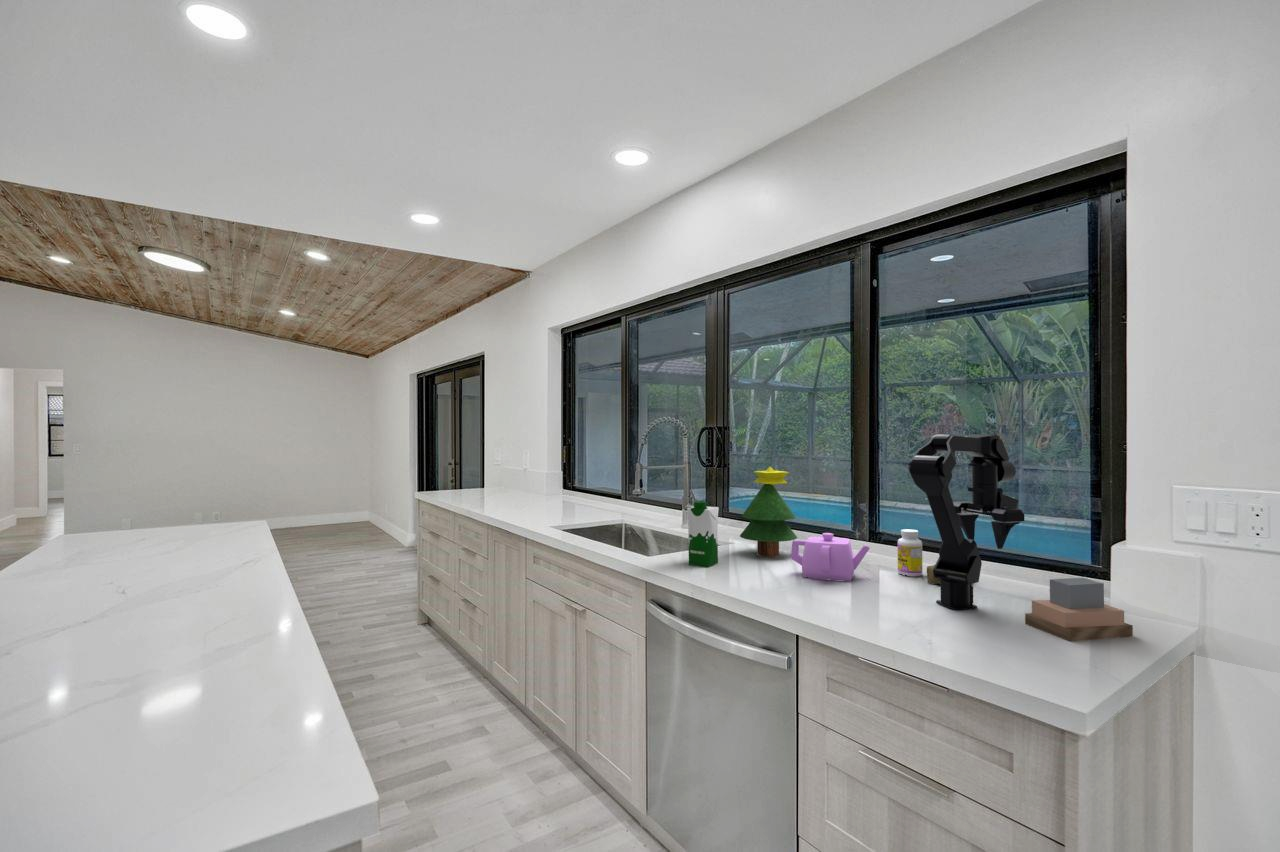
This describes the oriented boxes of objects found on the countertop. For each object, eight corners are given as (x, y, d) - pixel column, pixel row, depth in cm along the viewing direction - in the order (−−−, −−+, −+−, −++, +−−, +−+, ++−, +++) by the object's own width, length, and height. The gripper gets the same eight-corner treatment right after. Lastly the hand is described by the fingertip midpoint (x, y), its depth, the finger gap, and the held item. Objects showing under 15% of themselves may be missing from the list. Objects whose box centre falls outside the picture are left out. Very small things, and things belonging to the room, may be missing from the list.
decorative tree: (730, 551, 210) (729, 465, 211) (778, 547, 216) (777, 464, 216) (756, 562, 192) (756, 469, 192) (808, 558, 198) (808, 467, 198)
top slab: (1064, 627, 121) (1064, 612, 121) (1032, 614, 130) (1031, 600, 130) (1124, 625, 122) (1124, 610, 122) (1087, 612, 131) (1087, 598, 131)
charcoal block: (1070, 609, 123) (1069, 585, 123) (1050, 602, 128) (1049, 579, 128) (1104, 607, 124) (1103, 583, 124) (1083, 600, 129) (1082, 577, 129)
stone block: (971, 582, 166) (970, 564, 166) (943, 588, 161) (943, 569, 161) (951, 578, 171) (951, 560, 171) (924, 583, 166) (924, 565, 166)
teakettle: (786, 572, 179) (786, 531, 179) (831, 566, 186) (830, 526, 186) (825, 585, 163) (825, 540, 163) (872, 579, 170) (872, 535, 170)
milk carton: (684, 565, 189) (684, 501, 189) (697, 559, 197) (697, 498, 197) (709, 568, 184) (709, 503, 184) (722, 562, 192) (721, 500, 192)
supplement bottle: (893, 571, 178) (892, 528, 178) (914, 571, 179) (914, 528, 179) (905, 577, 172) (904, 532, 172) (927, 576, 172) (926, 532, 172)
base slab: (1069, 645, 119) (1069, 630, 119) (1025, 627, 130) (1025, 613, 130) (1132, 640, 122) (1132, 625, 122) (1084, 623, 133) (1083, 609, 133)
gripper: (1043, 486, 144) (1043, 550, 144) (982, 479, 163) (983, 537, 162) (1004, 487, 142) (1005, 553, 142) (947, 480, 160) (948, 539, 160)
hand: (985, 545), depth 152 cm, fingers open, 9 cm apart
